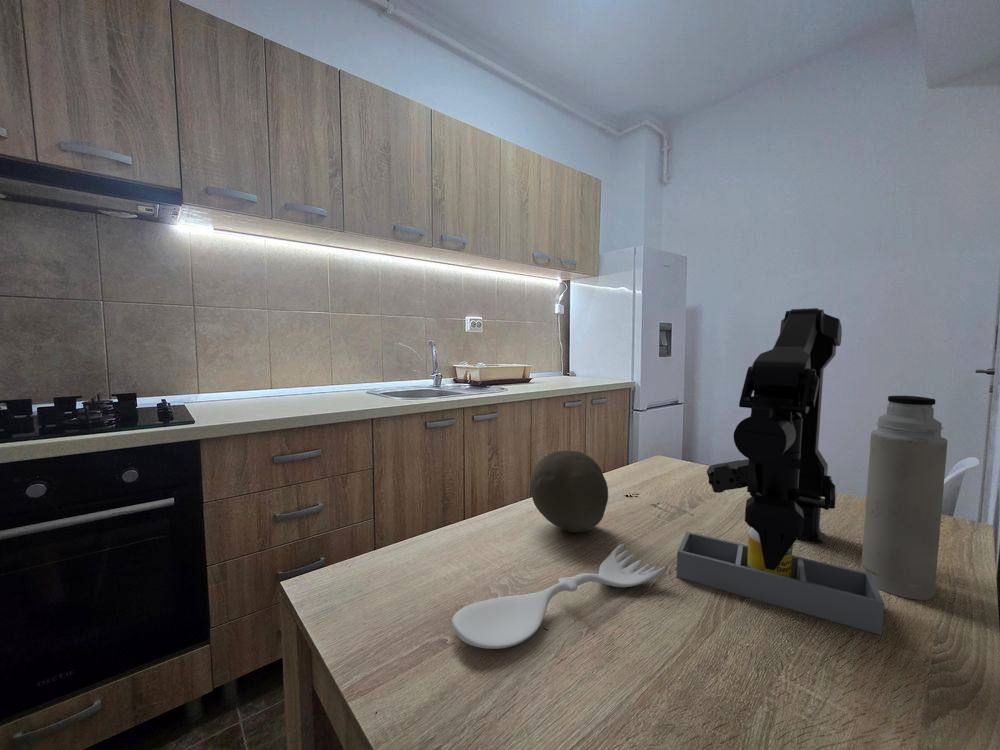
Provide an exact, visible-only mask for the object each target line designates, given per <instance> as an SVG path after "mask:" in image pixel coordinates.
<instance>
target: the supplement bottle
mask: <svg viewBox="0 0 1000 750" xmlns="http://www.w3.org/2000/svg"><path fill="white" fill-rule="evenodd" d="M747 545H748V562H747V567H749V568H753V569H757V570H761V571H765V572H769V573H773V574H777V575H781V576H785V577H789V578H791V567H792V565H791V564H792V556H793V549H794V547H793V545H794V544H793V545H792V546H791V547H790V549H789V550H788V552H787V553H786V555H785V556H784V558H783V559H782V560H781V562H780V563H779V565H778V566H777V568H776V569H775V570H769V569H766V568H765V564H764V559H763V553H762V548H761V543H760V538H759V534H758V532H757V531H756V530H754V529H753V528H752V527H750V529H749V531H748V544H747Z"/></svg>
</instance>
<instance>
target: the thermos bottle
mask: <svg viewBox="0 0 1000 750" xmlns="http://www.w3.org/2000/svg"><path fill="white" fill-rule="evenodd" d="M887 401H888V404H887V406H886V413H885V414H883V415H881V416H878V418H877V423H876V426H877V429H875V430H871V432H870V443H869V456H868V457H869V458H868V471H867V483H866V497H865V510H864V511H865V512H864V523H863V525H864V526H863V536H862V538H863V540H862V551H861V552H862V553H861V563H860V564H861V566H860V571H863V572H867V573H871V575H872V578H873V580H874V582H875V584H876V587H877V589H878V590H880V591H883V592H886V593H888V594H891V595H894V596H897V597H901V598H902V597H903V598H906V599H912V600H918V601H919V600H920V601H921V600H922V601H926V600H931V599H933V598H934V597H935V593H936V584H937V583H936V581H937V570H938V558H939V556H938V555H939V547H940V534H941V522H942V521H941V520H942V512H943V499H944V498H943V497H944V487H945V486H944V485H945V476H946V464H947V453H948V451H947V450H948V439H947V438H945V437H942V430H943V429H944V428H943V426H942V423H941V422H940V421H939V420H937V419H936V418H934V415H935V413H934V412H935V410H934V409H935V408H934V405H936V399H935V398H931V397H925V396H917V395H916V396H915V395H888V396H887Z"/></svg>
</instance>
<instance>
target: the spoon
mask: <svg viewBox="0 0 1000 750" xmlns="http://www.w3.org/2000/svg"><path fill="white" fill-rule="evenodd" d="M624 546H625V544H624V543H622V544H621V543H620V544H619V545H617V546H616V547H615V548H614V549H613V550H612V551H611V553H610V554H609V555H607V557H606V558H605V559H604V560H603V561H602V562H601V564H600V565H599V568H598V569H599V570H598V573H592V572H591V573H589V572H586V573H580V574H578V575H574V576H570V577H566V576H565V577H559V578H558V580H557V583H555V584H553V585H552V586H550V587H547V588H546V589H544V590H541V591H537V592H532V593H525V594H517V595H515V594H514V595H507V596H506V595H505V596H501V597H494V598H489V599H486V600H482V601H478V602H474V603H471V604H468V605H466V606H464V607H462V608H460V609H459V610H458V611H456V612H455V613H454V615H453V617H452V620H451V621H452V622H451V623H452V628H453V631H454V632H455V635H457V637H458V638H459V639H460V640H461V641H463V642H464V643H466V644H467V645H471V646H472V647H473V646H474V647H476V648H482V649H491V650H492V649H493V650H494V649H499V650H500V649H506V648H510V647H513V646H517V645H519V644H521V643H523V642H525V641H526V640H528V639H529V638H531V637H532V636H533V635H534V634H535V633H536V632H537V631H538V630H539V628H540V626H541V625H542V623H543V621H544V618H545V616H546V612H547V608H548V605H549V602H550V601H551V600H552V598H553V597H555V596H556V595H557V594H558V593H561V592H576V591H577V590H578V586H580V585H583V584H586V583H589V582H591V583H593V582H594V583H599V584H602V585H606V586H611V587H616V588H628V587H630V588H631V587H634V586H635V587H637V586H639V585H641V584H644V583H646V582H649V581H651V580H655V579H657V578H659V577H661V576H663V575H664V574H665V573H666V572H667V570H668V567H667V566H662V567H661V568H659V566H658V565H655V566H653V567H651V566H652V563H648V564H645V565H644V566H642V567H641V568H640V566H641V565H642V563H643V560H642V559H640V560H636V561H634V562H632V563H631V564H630V562H631V561H633V559H634V557H635V554H631V555H628V554H629V552H630V550H629V549H627V550H626V549H625V550H624ZM623 550H624V551H623ZM627 555H628V556H627ZM658 568H659V569H658Z"/></svg>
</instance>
